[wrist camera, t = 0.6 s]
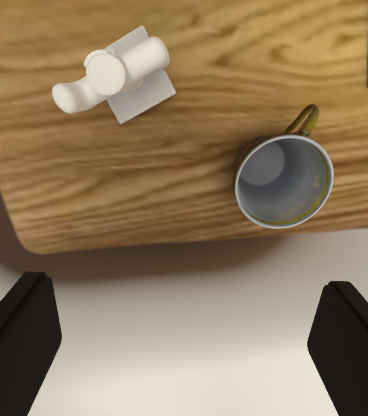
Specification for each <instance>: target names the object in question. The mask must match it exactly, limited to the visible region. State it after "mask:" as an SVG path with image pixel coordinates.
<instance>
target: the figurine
mask: <svg viewBox="0 0 368 416" xmlns="http://www.w3.org/2000/svg"><path fill="white" fill-rule="evenodd" d="M169 63H170V56H169V53H168V50H167V48H166V46H165V44H164V43H163V42H162V40H161V39H159V38H158V37H149V36H148V34H147V32H146V30H145V28H144V26H143V25H141V26H139V27H138V28H136V29H135V30H133V31H131V32H130V33H128V34H127V35H125V36H123V37H122V38H120V39H119V40H117V41H116V42H114V43H112V44H111V45H109V46H108V47H106V48H104V49H103V50H95V51H93V52H91V53H90V54H89V55H88V56H87V57H86V59H85V61H84V66H85V68H87V69H86V76H85V77H84V78H82V79H80V80H77V81H74V82H70V83H58V84H56V85H55V86H54V87H53V89H52V96H53V99H54V101H55V102H56V104H57V105H58V107H59V108H60V109H61V110H63V111H64V112H66V113H70V114H71V113H77V112H82V111H86V110H89V109H91V108H92V107H94V106H96V105H97V104H99V103H100V102H102V101H104V100H106V101H107V102H108V104H109V106H110V107H111V109H112V111H113V113H114V114H115V116H116V118H117V119H118V121H119V123H120V125H121V124H122V123H124V122H126V121H128V120H130V119H131V118H133V117H135V116H137V115H138V114H140V113H142V112H144V111H146V110H147V109H149V108H151V107H153V106H154V105H156V104H158V103H160V102H162V101H163V100H165V99H167V98H169V97H170V96H172V95H174V94H176V92H175V90H174V88H173V85H172V83H171V81H170V79H169V77H168V75H167V73H166V71H165V69H164V68H166V67H168V65H169Z"/></svg>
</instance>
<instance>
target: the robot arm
mask: <svg viewBox="0 0 368 416" xmlns="http://www.w3.org/2000/svg"><path fill="white" fill-rule="evenodd" d="M61 340H62V333H61V328H60V323H59V317H58V311H57V305H56V300H55V294H54V289H53V283H52V279H51V278H50V277H47V275H46V273H44V272H26V273H24V274H23V275H22V277H21V278H20V279H19V280H18V281H17V282H16V284H15V285H14V286H13V287H12V288H11V290H10V291H9V292H8V293H7V294H6V295H5V297H4V298H3V299H2V300H1V301H0V416H27V415H28V413H29V411H30V408H31V406H32V404H33V402H34V400H35V398H36V396H37V394H38V391H39V389H40V387H41V385H42V383H43V381H44V379H45V377H46V374H47V372H48V370H49V368H50V366H51V364H52V362H53V360H54V357H55V355H56V353H57V351H58V349H59V347H60V343H61ZM307 347H308V351H309V354H310V356H311V358H312V360H313V362H314V364H315V366H316V368H317V370H318V373H319V374H320V377H321V379H322V381H323V383H324V385H325V387H326V390H327V392H328V394H329V396H330V398H331V400H332V402H333V404H334V407H335V409H336V411H337V413H338V415H339V416H368V302H367V301H366V300H365V299H364V298H363V296H362V295H361V294H360V293H359V292H358V291H357V289H356V288H355V287H354V286H353V285H352V284H351V283H350V282H347V281H331V282H329V283H328V285H325V286H324V288H323V291H322V294H321V297H320V301H319V304H318V308H317V311H316V314H315V317H314V321H313V324H312V327H311V331H310V334H309V338H308V341H307Z"/></svg>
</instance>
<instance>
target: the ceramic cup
mask: <svg viewBox="0 0 368 416" xmlns="http://www.w3.org/2000/svg"><path fill="white" fill-rule="evenodd" d="M309 112H310V113H309ZM308 113H309V115H308V117H307V118H306V120H305V121H304V123H303V124H302V126H301V127H300V128H299V130H298V131H297V132H295V133H291V132H292V130H293V129H294V128H296V127H297V126H298V125H299V124H300V122H301V121H302V120H303V119H304V118H305V117H306V115H307V114H308ZM318 119H319V109H318V107H317V106H316V105H314V104H310V105H308V106H307V107H306V108H305V109H304V110H303V111H302V112H301V113H300V114H299V116H298V117H297V118H296V119H295V121H294V122H293V123H292V124H291V125H290V126H289V127H288V128H287V129H286V130H285V131H284V132H283V133H281V134H277V135H268V136H262V135H261V136H259V137H257V138H255V139H252V140H250V141H248V142H246V143H244V144H242V145H241V147H240V150H239V152H238V155H237V157H236V159H235V162H234V174H233V189H234V195H235V199H236V202H237V205H238V207H239V209H240V210H241V212H242V213H243V214H244V215H245V216H246V217H247V218H248V219H249V220H251V221H252V222H254V223H256V224H257V225H260V226H263V227H266V228H273V229H281V228H288V227H292V226H295V225H298V224H300V223H302V222H304V221H306V220H308V219H309V218H310V217H312V216H313V215H314V214H315V213H317V212H318V211H319V210H320V208H321V207H322V206H323V205H324V203H325V202H326V200H327V198H328V196H329V194H330V192H331V189H332V185H333V178H334V173H333V166H332V162H331V159H330V157H329V155H328V154H327V152H326V151H325V149H324V148H323V147H322V146H321V145H319V144H318V143H317V142H316V141H314V140H312V139H310V138H308V137H309V135H310V134H311V133H312V132H313V130H314V128H315V127H316V125H317V122H318ZM290 133H291V134H290Z"/></svg>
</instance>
